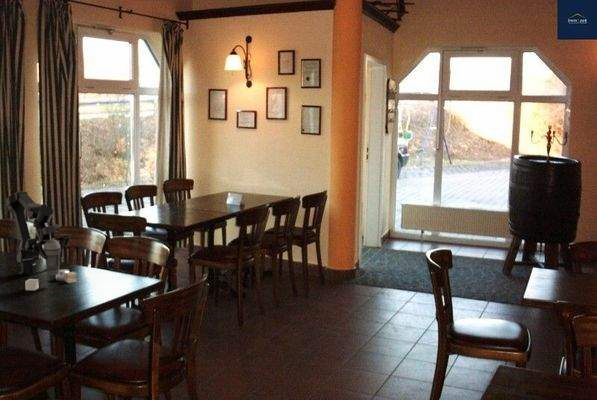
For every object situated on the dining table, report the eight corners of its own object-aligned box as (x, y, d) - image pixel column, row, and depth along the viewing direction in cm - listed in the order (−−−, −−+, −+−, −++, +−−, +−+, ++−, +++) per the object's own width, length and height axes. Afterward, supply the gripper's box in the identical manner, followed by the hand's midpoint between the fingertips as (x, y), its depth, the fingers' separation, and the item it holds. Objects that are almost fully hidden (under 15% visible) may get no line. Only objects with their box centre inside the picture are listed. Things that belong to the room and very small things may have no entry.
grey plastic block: (25, 290, 282) (25, 281, 281) (29, 287, 286) (29, 279, 285) (34, 290, 281) (34, 281, 281) (38, 288, 285) (38, 279, 285)
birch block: (64, 281, 296) (64, 273, 295) (73, 280, 299) (72, 271, 298) (68, 283, 293) (68, 274, 292) (76, 281, 296) (76, 273, 295)
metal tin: (53, 280, 298) (52, 271, 297) (61, 277, 304) (61, 268, 303) (64, 281, 296) (63, 273, 295) (72, 278, 302) (72, 270, 301)
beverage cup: (50, 277, 282) (48, 232, 279) (41, 274, 286) (38, 229, 283) (65, 273, 288) (63, 229, 284) (56, 270, 292) (53, 227, 289)
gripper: (25, 221, 280) (36, 250, 273) (67, 216, 292) (79, 244, 286) (20, 236, 287) (30, 265, 280) (61, 230, 299) (72, 258, 293)
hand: (53, 257), depth 285 cm, fingers closed on beverage cup, 7 cm apart
